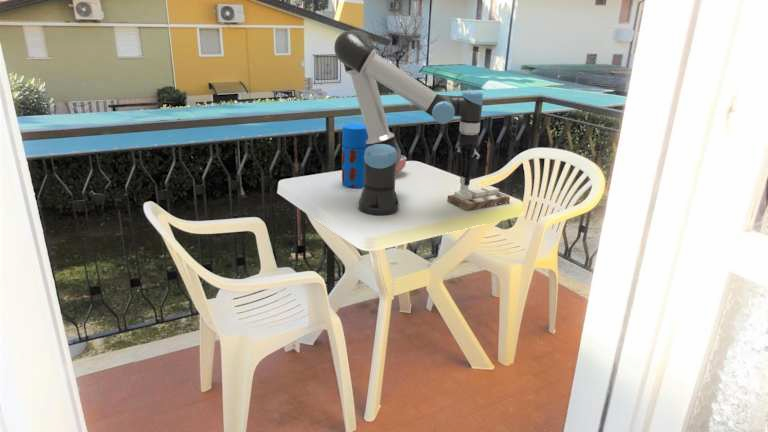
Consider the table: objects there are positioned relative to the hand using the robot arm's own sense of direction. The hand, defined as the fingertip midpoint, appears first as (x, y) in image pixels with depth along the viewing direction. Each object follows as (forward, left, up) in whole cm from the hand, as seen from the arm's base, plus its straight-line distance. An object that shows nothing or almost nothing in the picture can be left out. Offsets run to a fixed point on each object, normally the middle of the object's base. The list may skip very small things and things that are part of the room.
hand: (463, 192), depth 207 cm
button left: (0, 0, -3) cm, 3 cm away
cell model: (-7, +48, -5) cm, 48 cm away
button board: (+7, -1, -5) cm, 8 cm away
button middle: (+7, 0, -3) cm, 7 cm away
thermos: (-27, +40, -5) cm, 48 cm away
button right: (+14, 0, -3) cm, 14 cm away
